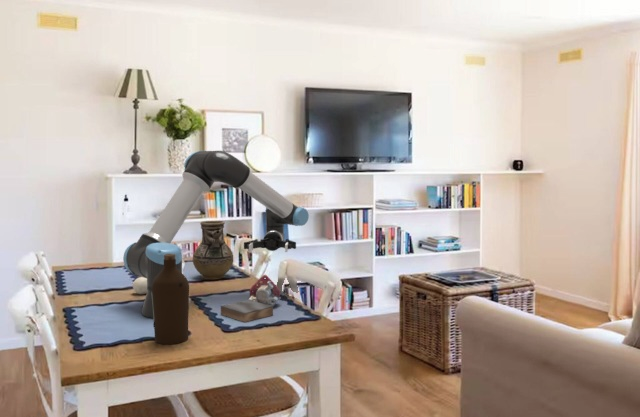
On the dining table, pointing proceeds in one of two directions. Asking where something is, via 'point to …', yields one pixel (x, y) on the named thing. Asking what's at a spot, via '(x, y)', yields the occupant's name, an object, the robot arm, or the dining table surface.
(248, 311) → the stand
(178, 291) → the olive oil
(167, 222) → the robot arm
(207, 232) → the decorative pitcher
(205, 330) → the dining table surface
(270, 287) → the brake caliper
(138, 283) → the baseball
